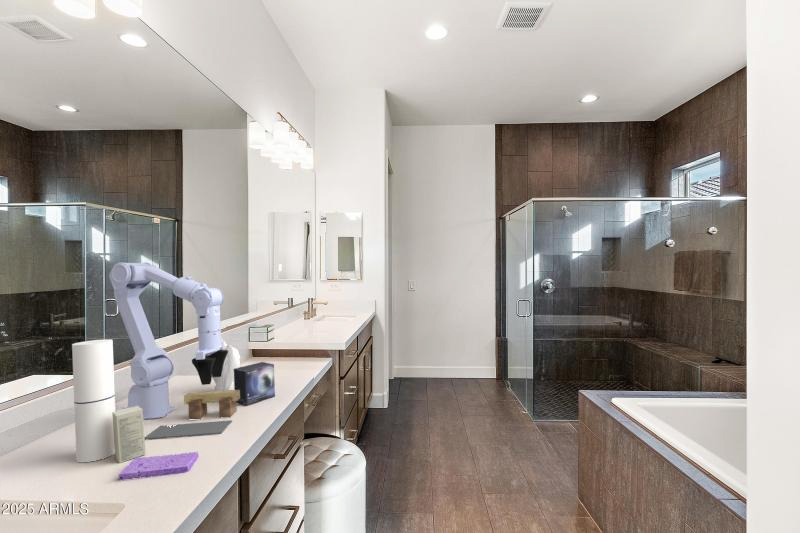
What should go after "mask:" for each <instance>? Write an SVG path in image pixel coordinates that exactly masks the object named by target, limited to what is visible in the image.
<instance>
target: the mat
mask: <svg viewBox="0 0 800 533" xmlns="http://www.w3.org/2000/svg"><path fill="white" fill-rule="evenodd" d="M232 422H233V420H219V421H218V420H217V421H206V422H204V421H203V422H193V423H192V422H190V423H181V424H180V423H178V424H177V423H176V424H177V425H176V424H175V425H176V426H174V427H173V425H174V424H171V425H172V426H171V428H170V427H169V426H168V427H167V425H168V424H165V426H164V425H160V426H158V427H157V428H156V429H154V430H153V431H151V432H150V433H149V434H147V435H146V436H144V438H145V441H146V439H150V440H156V439H155V438H162V439H168V438H167V437H175V438H183V437H182V436H188V437H201V436H211V435H212V436H213V435H221V434H222V433H224V431H225V430H226V429H227V428H228V427H229V426H230V425H231V424H232ZM229 424H230V425H229ZM228 425H229V426H228ZM227 426H228V427H227Z"/></svg>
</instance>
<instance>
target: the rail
mask: <svg viewBox="0 0 800 533" xmlns="http://www.w3.org/2000/svg"><path fill="white" fill-rule="evenodd" d="M224 398H231V401H238V400H239V399H240V389H239V390H234V389H232V390H224V391H215V390H213V391H212V390H211V391H198V392H196V391H195V392H187V393H186V394H184V395H183V401H184V402H183V405H184V406H185V405H188V402H189V401H196V400H201V403H207V404H211V403H212V404H213V403H219V399H224Z"/></svg>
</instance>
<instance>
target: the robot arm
mask: <svg viewBox="0 0 800 533" xmlns="http://www.w3.org/2000/svg"><path fill="white" fill-rule="evenodd" d="M108 277H109V280H110V282H111V285H112V288H113V296H114V300H115V303H116V305H117V308H118V311H119V315H120V316H121V319H122V321H123V325H124V327H125V330H126V333H127V335H128V338H129V340H130V344H131V345H132V348H133V351H134V355H133V357H132V359H131V360H130V362H129V366H130V377H131V380H132V382H133V383H134V384H133V385H131V387H130V388H129V391H128V394H127V405H128V407H127V408H130V407H134V406H139V407H141V408H142V410H143V420H149V419H161V418H160V417H162V418H165V416H166V414H167V415H168V414H169V412H170V413H171V412H173V411H174V410H175V409H176V406H170V394H169V393H170V390H169V389H170V388H169V381H170V380H171V376H172V375H173V373H174V370H175V364H174V361H173V360H172V359H171V357H169V356H168V354H167V351H166V350H164V349H162V348H161V347H160V346H157V342H156V340H155V337H154V334H153V333H152V329H151V328H150V327H151V326H150V325H149V322H148V319H147V317H146V316H147V315H146V313H145V311H144V309H143V306H142V303H141V300H140V295H141V294H142V293H143V292H144V291H145V290H146V289H147V287H149V285H150V284H151V283H152V282H153V283H154V284H155V283H156V284H158V285H160V286H163V287H165V288H168V289H171V290H172V293H173V295H174V296H175V297H179V298H180V299H182V300H185V301H187V302H189V303H191V304H192V306H193V308H195V314H196V317H197V334H198V335H197V336H198V348H197V351H196V352H195V357H194V358H193V359H191V364H192V365H193V366H194V367H195V370H196V371H197V374H198V377H199V380H200V383H201V385H203V386H204V385H211V383H212V380H213V378H212V376H213V377H221V375H222V370H223V364H224V361H225V358H226V355H227V353H228V350H222V349H225V348H226V346H224V343H223V342H222V343H221V340H222V338H221V337H222V324H221V323H222V321H221V306H222V304H223V303H224V300H225V295H224V293H223V292H224V291H222V290H221V289H219V287H217V286H212V287H209V286H208V285H207V284H206V283H200V282H198V281H196V280H194V277H192V276H183V277H182V276H181V277H176V276H175V275H173V274H170V273H169V272H167V271H165V270H163V269H161V268H159V267H157V265H155V264H151V263H150V262H142V263H141V262H117V263H115V264H114V265H113V267H112V268H111V270H110V273H109V274H108Z"/></svg>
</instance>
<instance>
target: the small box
mask: <svg viewBox="0 0 800 533" xmlns="http://www.w3.org/2000/svg"><path fill="white" fill-rule="evenodd" d="M239 389H240V399H239V400H238V401H236V404H237V403H238V404H237V405H241V406H244V407H247V406H251V405H254V404H257V403H260V402H262V401H265V400H269V399H272V398H275V397H276V387H275V364H274V363H270V362H265V361H261V362H256V363H252V364H249V365H245V366H239V368H235V369H234V381H233V390H239Z"/></svg>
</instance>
